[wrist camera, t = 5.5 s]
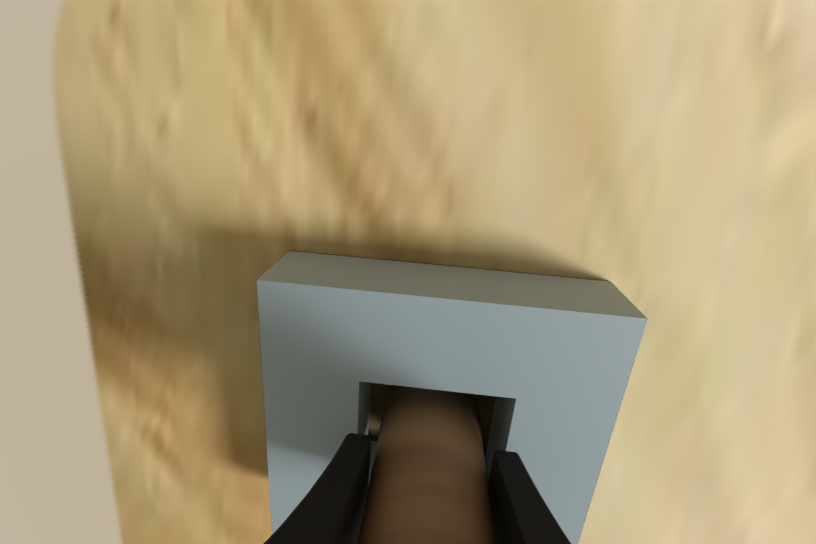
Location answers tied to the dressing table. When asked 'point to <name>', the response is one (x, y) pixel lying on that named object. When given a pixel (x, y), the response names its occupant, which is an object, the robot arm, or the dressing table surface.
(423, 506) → the peg
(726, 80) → the dressing table surface
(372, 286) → the socket block
